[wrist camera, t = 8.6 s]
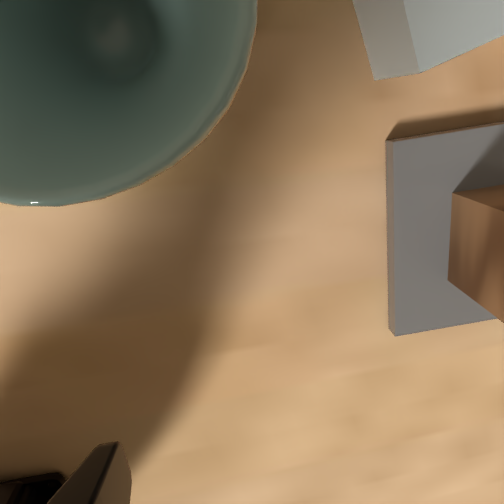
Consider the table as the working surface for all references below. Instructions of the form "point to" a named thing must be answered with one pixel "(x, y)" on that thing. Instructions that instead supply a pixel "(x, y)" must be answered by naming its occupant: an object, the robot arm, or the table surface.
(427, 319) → the coaster
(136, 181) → the cup
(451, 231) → the walnut block
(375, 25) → the painted cube
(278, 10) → the table surface
